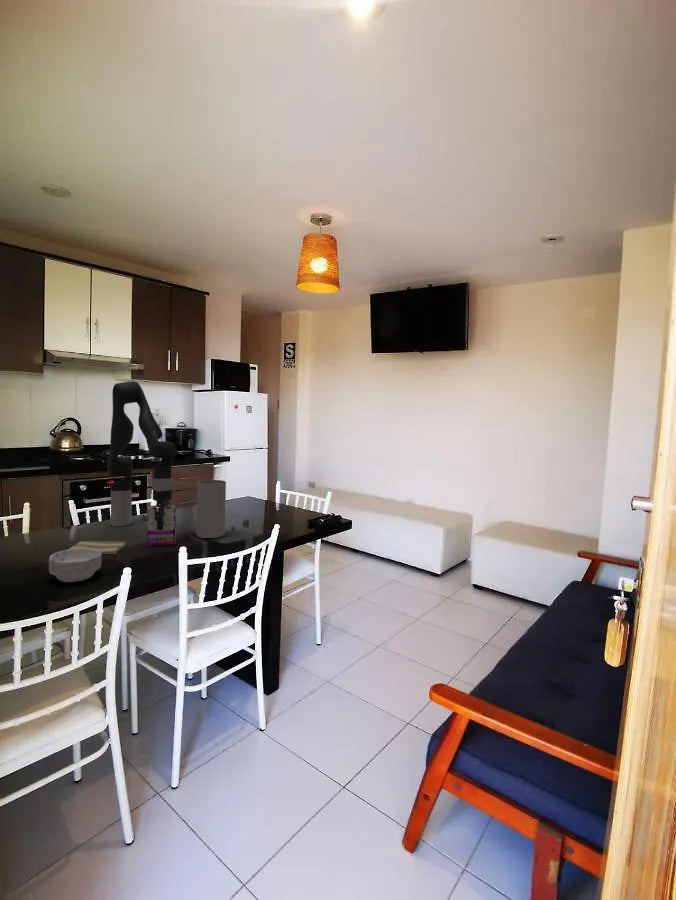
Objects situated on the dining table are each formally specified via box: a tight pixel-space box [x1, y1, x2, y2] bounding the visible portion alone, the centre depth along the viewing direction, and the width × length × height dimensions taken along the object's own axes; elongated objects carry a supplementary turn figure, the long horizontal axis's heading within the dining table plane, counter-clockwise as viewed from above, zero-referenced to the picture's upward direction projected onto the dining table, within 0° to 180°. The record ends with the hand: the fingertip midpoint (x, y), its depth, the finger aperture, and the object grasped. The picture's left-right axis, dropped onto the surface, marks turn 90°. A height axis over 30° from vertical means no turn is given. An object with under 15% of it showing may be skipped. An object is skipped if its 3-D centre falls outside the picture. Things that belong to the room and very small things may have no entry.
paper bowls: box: [48, 548, 103, 583], centre depth 150 cm, size 15×15×8 cm
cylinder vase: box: [196, 479, 227, 539], centre depth 205 cm, size 12×12×25 cm
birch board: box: [67, 540, 128, 555], centre depth 180 cm, size 14×18×1 cm
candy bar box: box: [146, 504, 177, 547], centre depth 190 cm, size 11×5×16 cm, turn 105°
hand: (161, 527), depth 190 cm, fingers closed on candy bar box, 5 cm apart
